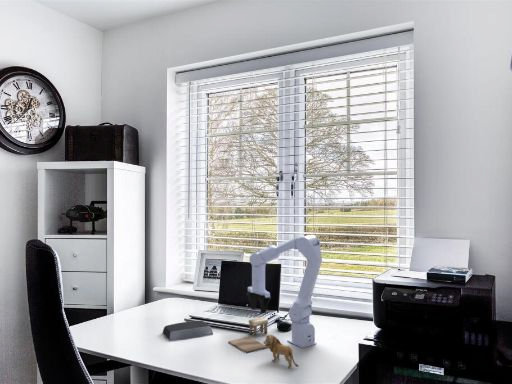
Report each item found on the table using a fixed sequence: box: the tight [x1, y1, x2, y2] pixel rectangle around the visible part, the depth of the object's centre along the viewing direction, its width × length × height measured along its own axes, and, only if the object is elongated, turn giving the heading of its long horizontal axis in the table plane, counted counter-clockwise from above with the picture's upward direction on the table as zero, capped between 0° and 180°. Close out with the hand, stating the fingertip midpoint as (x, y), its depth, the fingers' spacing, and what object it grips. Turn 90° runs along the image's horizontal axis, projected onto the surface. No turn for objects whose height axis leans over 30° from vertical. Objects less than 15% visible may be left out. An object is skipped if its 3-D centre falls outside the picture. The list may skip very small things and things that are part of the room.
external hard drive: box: [162, 320, 214, 342], centre depth 188 cm, size 13×19×4 cm
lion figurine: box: [263, 334, 299, 369], centre depth 156 cm, size 15×5×9 cm, turn 50°
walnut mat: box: [227, 336, 269, 354], centre depth 174 cm, size 14×10×1 cm
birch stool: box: [248, 316, 269, 337], centre depth 189 cm, size 4×7×6 cm, turn 124°
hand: (258, 310), depth 189 cm, fingers open, 7 cm apart
